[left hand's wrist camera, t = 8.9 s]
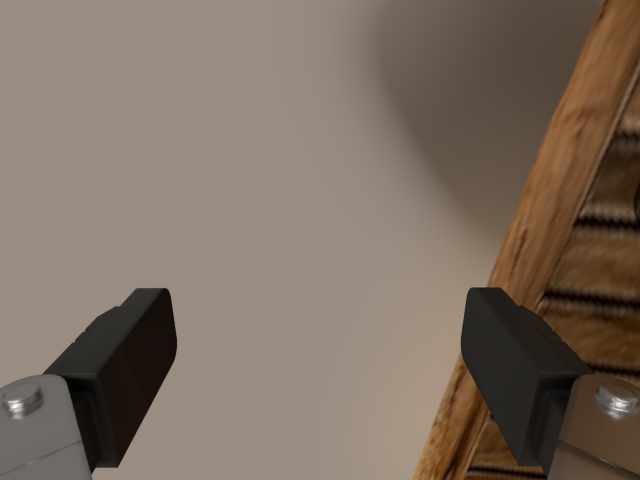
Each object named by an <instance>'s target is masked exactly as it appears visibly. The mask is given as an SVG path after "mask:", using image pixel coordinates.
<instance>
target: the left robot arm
mask: <svg viewBox="0 0 640 480" xmlns="http://www.w3.org/2000/svg"><path fill="white" fill-rule="evenodd" d="M635 210H636V215H637V218H638V220H639V222H640V186H639V189H638V191H637V195H636V201H635ZM176 351H177V336H176V329H175V322H174V315H173V308H172V302H171V296H170V292H169V291H168V289H166V288H137V289H135V290H134V291H133V293H132V294H131V295H130V296H129V297H128V298H127V299H126V300H125V301H124V302H123V304H122V305H121V306H120V307H114V308H112V309H110V310H108V311H107V312H105V313H103V314H102V315H100V316H98V317H97V318H96V319H95V320H94V321H93V322H92V323H91V324H90V325H89V326H88V327H87V328H86V329H85V332H82V333H81V334H80V335H79V336H78V337H77V339H76V340H75V343H72V344H71V345H70V346H69V347H68V348H67V349H66V350H65V351H64V352H63V353H62V354H61V355H60V356H59V357H58V358H57V359H56V360H55V361H54V362H53V363H52V364H51V366H50V367H49V368H48V369H47V370H46V371H45V372H44V373H43V374H42V375H35V376H30V377H27V378H23V379H20V380H17V381H15V382H12V383H10V384H8V385H6V386H4V387H2V388H0V480H92V476H91V475H92V473H93V471H94V470H95V468H117V467H118V466H119V464H120V462H121V461H122V459H123V457H124V455H125V453H126V451H127V449H128V447H129V445H130V444H131V441H132V440H133V438H134V436H135V434H136V432H137V430H138V428H139V426H140V425H141V423H142V421H143V419H144V417H145V415H146V413H147V411H148V410H149V408H150V406H151V404H152V402H153V400H154V398H155V396H156V394H157V393H158V391H159V389H160V387H161V385H162V383H163V381H164V379H165V377H166V375H167V374H168V372H169V370H170V368H171V366H172V364H173V362H174V360H175V356H176ZM461 351H462V356H463V359H464V362H465V364H466V366H467V368H468V370H469V371H470V373H471V375H472V377H473V379H474V381H475V383H476V385H477V387H478V389H479V391H480V392H481V394H482V396H483V398H484V400H485V402H486V404H487V406H488V408H489V410H490V412H491V414H492V415H493V417H494V419H495V421H496V423H497V425H498V427H499V429H500V431H501V433H502V435H503V436H504V438H505V440H506V442H507V444H508V446H509V448H510V450H511V452H512V454H513V456H514V457H515V459H516V461H517V463H518V465H519V466H541V467H542V469H543V471H544V472H545V474H546V476H547V478H548V480H640V388H638V387H636V386H634V385H632V384H630V383H628V382H625V381H623V380H620V379H617V378H614V377H610V376H605V375H598V374H595V373H594V372H593V371H592V370H591V369H590V368H589V367H588V366H587V365H586V364H585V363H584V362H583V361H582V360H581V359H580V358H579V357H578V355H577V354H576V353H575V352H574V351H573V350H572V349H571V348H570V347H569V346H568V345H567V344H566V343H565V342H562V339H561V338H560V337H559V336H558V335H557V333H556V332H555V331H552V328H551V327H550V326H549V325H548V324H547V323H546V322H545V321H544V320H543V319H542V318H541V317H540V316H539V315H537V314H535V313H534V312H532V311H530V310H528V309H527V308H525V307H523V306H517V305H516V304H515V302H514V301H513V300H512V299H511V298H510V297H509V296H508V295H507V294H506V292H505V291H504V290H503V289H502V288H470V289H469V291H468V294H467V299H466V306H465V313H464V320H463V327H462V334H461Z"/></svg>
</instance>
